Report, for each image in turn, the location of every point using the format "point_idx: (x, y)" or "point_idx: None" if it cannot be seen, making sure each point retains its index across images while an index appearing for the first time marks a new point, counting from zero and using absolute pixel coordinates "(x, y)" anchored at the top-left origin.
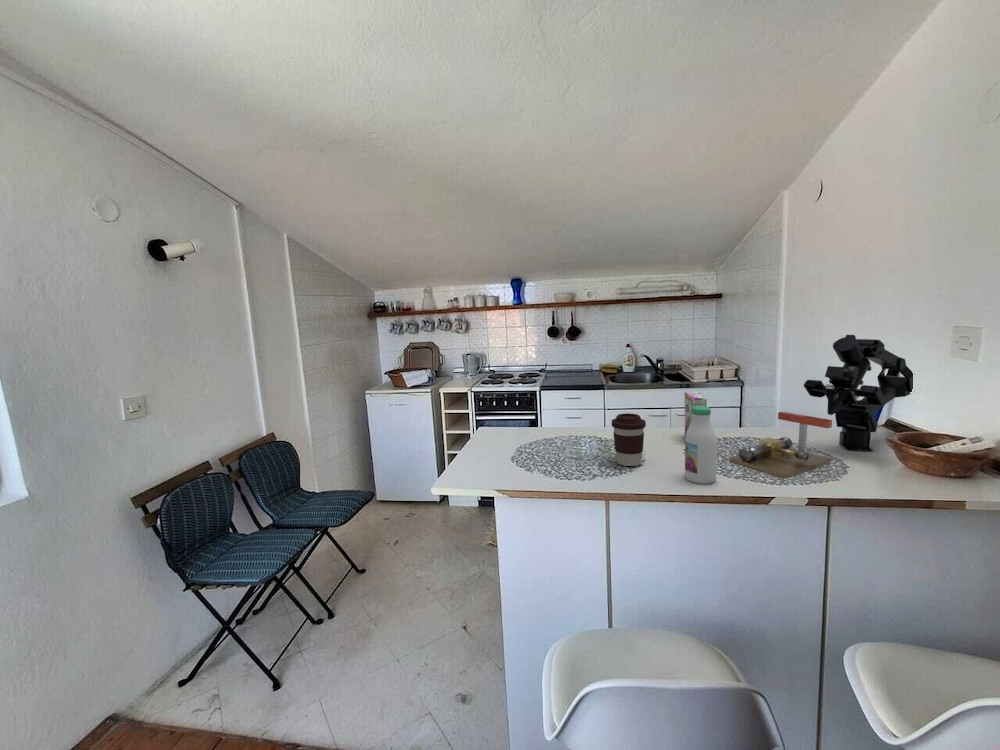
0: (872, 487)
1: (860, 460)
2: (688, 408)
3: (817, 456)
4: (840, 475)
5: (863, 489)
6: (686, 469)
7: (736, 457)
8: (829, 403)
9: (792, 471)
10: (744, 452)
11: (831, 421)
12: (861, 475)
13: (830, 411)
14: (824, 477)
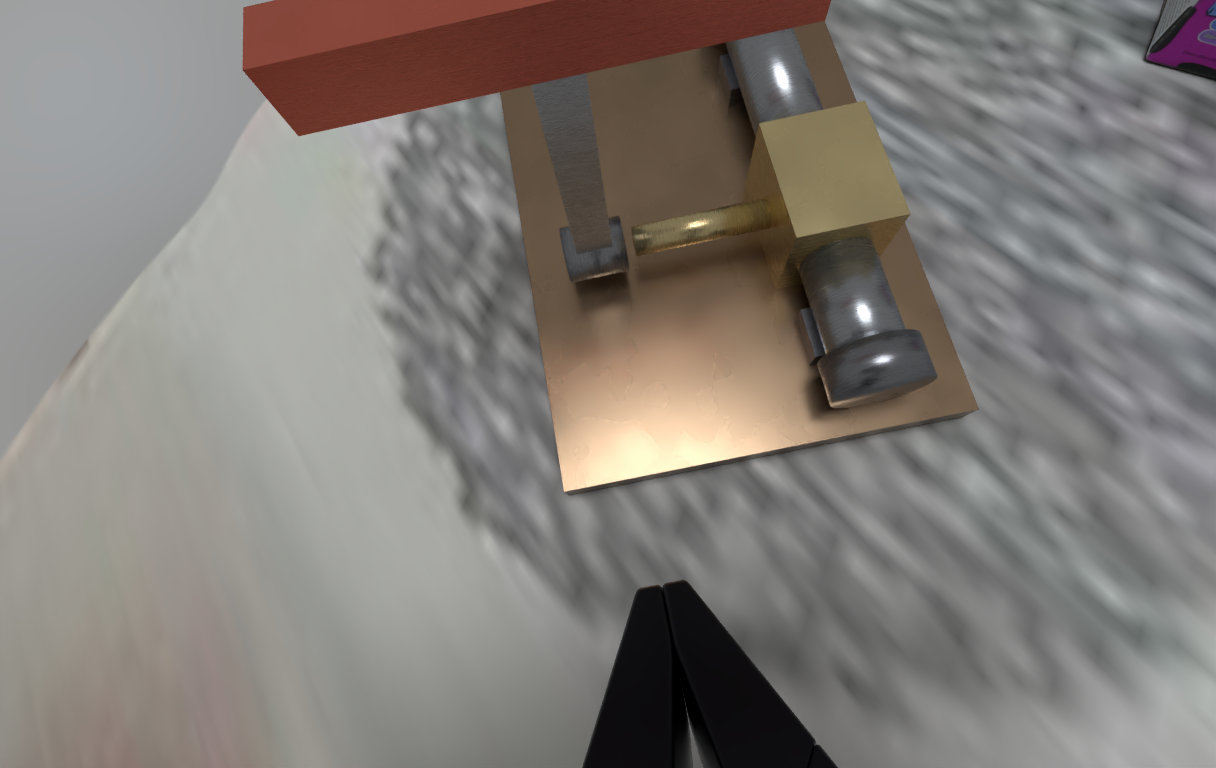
0: (234, 329)
1: (513, 735)
2: None
3: (632, 443)
4: (403, 339)
5: (245, 270)
6: None
7: None
8: (759, 725)
9: (504, 110)
10: None
11: (253, 75)
12: (347, 441)
13: (650, 606)
14: (424, 244)
